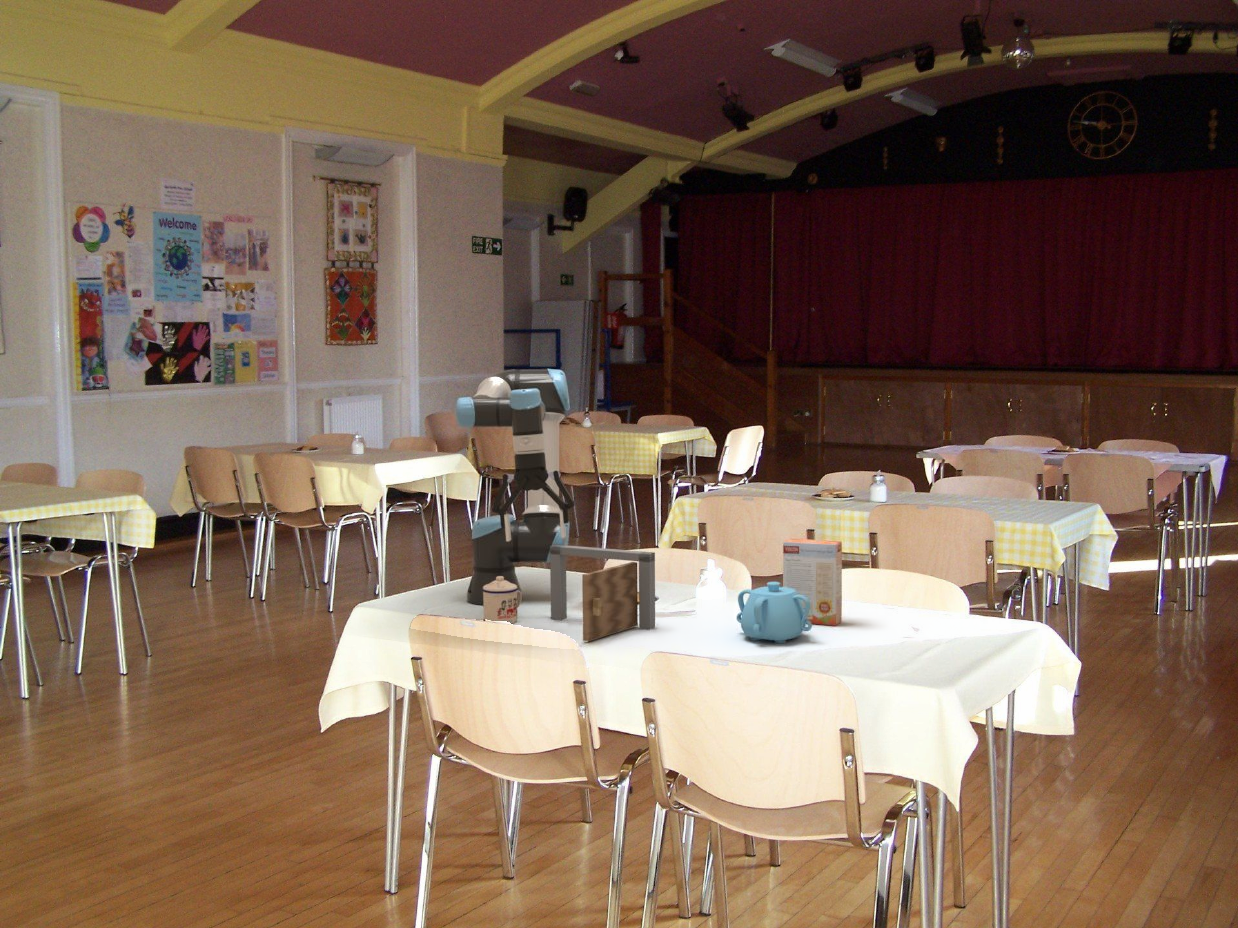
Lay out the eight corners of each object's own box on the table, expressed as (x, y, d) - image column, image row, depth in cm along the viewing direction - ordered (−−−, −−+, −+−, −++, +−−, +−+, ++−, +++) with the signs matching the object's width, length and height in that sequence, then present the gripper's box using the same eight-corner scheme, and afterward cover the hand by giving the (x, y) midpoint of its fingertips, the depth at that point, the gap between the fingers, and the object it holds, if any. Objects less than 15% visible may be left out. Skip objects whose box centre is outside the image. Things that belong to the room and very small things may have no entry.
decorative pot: (733, 631, 317) (733, 577, 315) (796, 628, 319) (796, 574, 317) (748, 647, 300) (748, 590, 299) (815, 644, 302) (815, 587, 301)
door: (632, 624, 322) (632, 561, 320) (643, 626, 320) (642, 563, 318) (583, 640, 306) (582, 574, 304) (593, 642, 304) (592, 575, 302)
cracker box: (842, 621, 326) (843, 540, 323) (835, 626, 320) (836, 544, 318) (789, 616, 331) (789, 537, 329) (782, 621, 326) (782, 540, 324)
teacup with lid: (500, 626, 323) (499, 581, 322) (475, 621, 329) (474, 577, 327) (533, 618, 332) (532, 574, 331) (508, 613, 338) (508, 570, 337)
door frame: (556, 616, 334) (555, 544, 332) (655, 627, 321) (654, 552, 319) (551, 618, 331) (549, 546, 329) (650, 629, 318) (649, 554, 316)
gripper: (475, 456, 309) (482, 543, 310) (578, 449, 306) (584, 537, 308) (482, 455, 316) (488, 540, 318) (582, 447, 314) (588, 533, 315)
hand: (536, 539), depth 313 cm, fingers open, 13 cm apart
